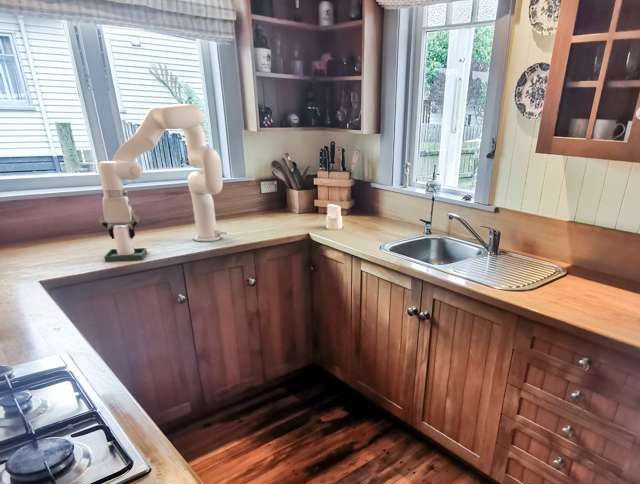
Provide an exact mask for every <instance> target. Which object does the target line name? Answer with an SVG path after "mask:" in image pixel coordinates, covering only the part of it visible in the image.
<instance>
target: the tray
mask: <svg viewBox="0 0 640 484" xmlns="http://www.w3.org/2000/svg"><path fill="white" fill-rule="evenodd" d="M134 252H135V253H134V254H132V255H124V256H120V255H118V253H117V248H110V249H109V251H108V252H106V254H105V255H104V261H105V262H124V261H125V262H127V261H143V260H144V258H145V256H146V255H147V253H148V251H147V247H139V248H138V247H134Z"/></svg>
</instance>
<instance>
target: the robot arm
mask: <svg viewBox="0 0 640 484" xmlns="http://www.w3.org/2000/svg"><path fill="white" fill-rule="evenodd" d="M204 117H205V116H204V112H203V110H202V109H201V108H200V107H199V106H198V105H196V104H192V103H191V104H189V103H173V104H172V105H170V106H164V105H163V106H161V105H156V106H152V107H150V108H149V110H148V111H147V112H146V115H145V116H144V118H143V119H142V122H141V123H140V125H139V126H138V128H137V130H136V131H135V133H134V134H133V135H132V136H131V137H129V138H128V139H127V140H126V141H125V142H124V143H123V144H121V145H120V147H119V148H118V149H117V150H116V152H115V154H114V155H113V157H112V159H111V160H104V161H99V162H98V163H97V169H98V170H97V171H98V173H99V179H100V184H101V189H102V194H103V197H102V211H103V212H102V214H101V216H100V217H99V218H98V219H97V222H98V223H100V224H101V225H102V226H103V227H105V228H106V229H107V230H108V234H109V237H110V238H111V240H115V239H114V234H113V226H114V224H126V225H128V227H129V228H130V229H129V232H130V237H131V238H132V239H134V237H135V236H136V232H135V227H136V226H137V225H138V223H139V222H140V221H141V217H139V216H138V215H136V214H135V213H134V211H133V208H132V205H131V202H130V199H129V197H128V196H127V195H129V190H125V188H124V183H123V180H129V181H135V180H138V179H140V178H142V176H143V174H144V169H143V167H142V165H141V164H140V163H139V162H137V161H136V160H137V159H138V157H140V156H142V155H143V154H145V153H148V152H150V151H152V150H153V149H155V148H156V147H157V146H158V143H159V142H160V139H161V138H162V137H163V135H164V134H165V132H166V130H180V129H181V130H182V132H183V134H184V138H185V146H186V154H187V160H188V163H189V165H190V166H191V167H193V168H196V169H200V170H194V171H192V172H191V173H189V175H188V177H187V186H188V190H189V193H190V197H191V203H192V209H193V217H194V218H193V219H194V225H195V232H196V234H194V235H193V240H194V241H197V242H215V241H218V240H221V238H222V236H227V234H228V233H227V230H225V229H224V230H223V229H221V230H220V229H219V228H218V227H217V221H216V220H217V219H216V212H215V203H214V198H213V196H215V195H218V194H220V193H221V192H222V189H223V186H224V179H223V167H222V160H221V156H220V154H219V153H218V151H217V150H216V149H214V148H213V147H210V146H209V147H208V146H207V141H206V140H207V139H206V135H205V131H204V129H203V127H202V125H201V124H202V123H203V122H204ZM201 169H202V171H201ZM133 220H134V221H133Z"/></svg>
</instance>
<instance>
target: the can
mask: <svg viewBox="0 0 640 484" xmlns="http://www.w3.org/2000/svg"><path fill="white" fill-rule="evenodd" d="M112 228H113V234H114V239H113V240H114V243H115V249H117V253H118V255H120V256H124V255H132V254H134V253H135V252H134V248H135V246H134V241H133V238H131V237H130V232H129V229H130V227H129V226H128V224H127V223H118V224H113V225H112Z"/></svg>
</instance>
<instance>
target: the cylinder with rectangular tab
mask: <svg viewBox="0 0 640 484" xmlns="http://www.w3.org/2000/svg"><path fill="white" fill-rule="evenodd" d="M326 208H327V209H326V215H325V228H326V229H328V230H340V229H341V230H342V228H343V216H342V211H341V210H342V207H341V205H337V204H333V203H329V204H327V205H326Z"/></svg>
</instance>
